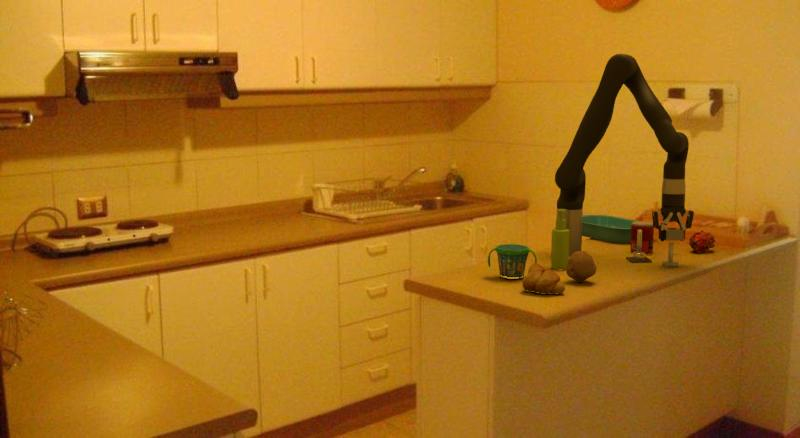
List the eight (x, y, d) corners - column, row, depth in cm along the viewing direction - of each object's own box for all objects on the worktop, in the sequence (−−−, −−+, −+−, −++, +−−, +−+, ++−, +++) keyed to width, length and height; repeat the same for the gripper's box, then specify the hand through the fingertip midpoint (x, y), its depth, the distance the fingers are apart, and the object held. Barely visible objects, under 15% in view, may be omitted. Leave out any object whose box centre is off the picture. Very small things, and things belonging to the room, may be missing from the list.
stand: (631, 263, 295) (633, 231, 293) (625, 258, 301) (626, 228, 300) (651, 262, 295) (653, 231, 293) (645, 258, 302) (646, 228, 300)
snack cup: (538, 275, 276) (539, 245, 274) (533, 282, 266) (534, 251, 264) (491, 272, 281) (491, 242, 279) (484, 279, 271) (485, 248, 269)
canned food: (653, 254, 309) (654, 224, 307) (630, 254, 310) (632, 224, 309) (651, 250, 316) (652, 221, 314) (629, 250, 318) (630, 221, 316)
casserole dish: (665, 241, 336) (666, 223, 335) (626, 247, 324) (627, 229, 323) (597, 228, 366) (597, 212, 365) (559, 234, 354) (559, 217, 353)
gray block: (666, 240, 285) (666, 230, 285) (659, 237, 291) (660, 227, 290) (683, 240, 285) (684, 230, 285) (677, 237, 291) (677, 227, 291)
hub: (665, 267, 287) (666, 244, 286) (660, 264, 292) (661, 241, 291) (680, 267, 287) (681, 244, 286) (674, 264, 292) (676, 241, 291)
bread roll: (570, 293, 253) (571, 266, 252) (553, 299, 246) (553, 272, 245) (533, 286, 262) (534, 261, 260) (516, 292, 254) (516, 266, 253)
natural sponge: (601, 282, 266) (602, 251, 265) (585, 287, 260) (586, 255, 258) (577, 277, 273) (578, 247, 271) (561, 282, 266) (561, 251, 265)
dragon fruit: (712, 254, 317) (694, 263, 310) (695, 238, 321) (677, 247, 314) (724, 238, 312) (706, 247, 305) (707, 222, 316) (689, 231, 309)
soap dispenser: (571, 266, 290) (572, 208, 287) (566, 270, 284) (567, 211, 280) (554, 264, 292) (555, 207, 289) (549, 268, 286) (550, 210, 283)
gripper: (656, 193, 282) (654, 243, 284) (698, 192, 282) (696, 242, 285) (648, 190, 289) (647, 239, 292) (690, 190, 290) (688, 238, 292)
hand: (671, 240), depth 288 cm, fingers closed on gray block, 6 cm apart
